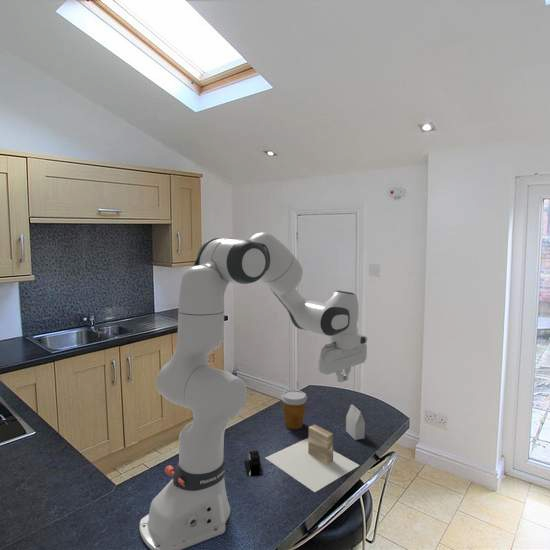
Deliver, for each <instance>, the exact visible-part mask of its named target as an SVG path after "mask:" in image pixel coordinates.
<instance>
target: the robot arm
mask: <svg viewBox="0 0 550 550" xmlns="http://www.w3.org/2000/svg"><path fill="white" fill-rule="evenodd" d="M303 272H304V271H303V267H302V265H301V263H300V262H299V260H298V259H297V258H296V256H295V255H294V254H293V253H292V252H291V251H290V250H289V248H288V247H286V246H285V244H283V243H282V242H281V241H280V240H279V239H278V238H277V237H275V236H274V235H272V234H271V233H270V232H266V231H265V232H263V231H261V232H258V233H255V234H254V235H252V236H250V237H249V238H248V239H238V238H235V237H223V238H220V237H218V238H212V239H209V240H207V241H206V242H204V243H203V244H202V245H201V247H200V248H199V250H198V253H197V256H196V259H195V262H194V266H191V267H190V268H189V267H188V268H187V269H186V270H185V271H184V272H183V274H182V277H181V282H180V285H179V286H180V287H179V293H178V294H179V295H178V303H177V304H178V307H177V308H178V309H177V311H178V312H177V314H178V315H177V340H176V346H175V349H174V353H172V354H173V355H172V356H171V359H169V361H168V362H166V363H165V364H164V365H163V366H162V367H161V368H160V369H159V371H158V374H157V378H156V390H157V392H158V393H159V394H160V395H161V396H162V397H164V398H165V399H166V400H168V402H170V403H171V404H174V405H177V406H180V407H182V408H185V409H189V410H191V413H192V418H193V419H192V421H191V422H189V423H187V424H186V425H185V426H184V427H183V428H182V429H181V430H180V433H179V435H178V455H179V456H178V459H179V460H178V463H177V464H176V468H174V467H173V466H172V465H171V464H170V465H167V466H166V467H165V469H164V472H165V474H166V475H167V476H168V477H172V478H171V479H170V481H169V482H168V483H167V484H166V485H165V486H164V487H163V489H162V490H161V491H160V492H159V493H158V494H157V495H156V496H155V497H154V498H153V499H152V501H151V502H150V506H149V513H148V514H146V515H145V516H144V517H142V518H141V519H140V521H139V534H140V537H141V539H142V540H143V542H144V543H145V545H146V546H147V547H148V548H149V550H184V549H187V548H189V547H192V546H194V545H197V544H200V543H202V542H204V541H207V540H210V539H212V538H215V537H218V536H219V535H223V534H224V533H225V532H226V523H227V521H228V519H229V518H230V516H231V506H230V503H229V501H228V496H227V490H226V482H225V476H226V458H225V456H224V450H225V449H224V448H225V447H224V441H225V439H224V438H225V431H226V428H227V426H228V423H229V422H230V421H231V420H233V419H234V418H236V417H237V416H239V414H240V413H241V412H242V411H243V409H244V407H245V405H246V403H247V399H248V391H247V385H246V383H245V382H244V380H242V379H241V378H240V377H238V376H237V375H235V374H233V373H231V372H229V371H226V370H222V369H220V368H216V367H213V366H209V356H210V354H211V353H212V352H213V351H215V350H217V349H218V348H220V346H221V345H222V343H223V342H224V337H225V335H224V334H225V293H226V290H227V287H228V285H229V284H230V283H236V284H241V285H242V284H243V285H245V284H246V285H247V284H252V283H256V282H258V281H259V280H260V279H261V280H262V282H264V284H265V285H267V287H269V289H270V290H271V292H272V293H273V295H274V296H275V297H276V298H277V299H278V302H280V303H281V304H282V305H283V307H284V308H285V310H286V311H287V312H288V315H289V317H290V320H291V322H292V324H293V325H294V326H295V327H296V328H297V329H300V330H304V331H309V332H312V333H316V334H319V335H324V336H328V337H329V338H330V339H329V342H330V343H328V344H325V345H324V346H323V347H322V349H321V350H320V354H319V358H318V360H319V361H318V371H319V372H320V374H321V373H322V374H324V375H331V374H333V373H335V376H337V380H336V381H337V382H339V383H343V382H346V381H348V380H349V375H350V372H351V371H352V367H354V366H357V365H360V364H361V365H362V364H364V363H365V362H366V359H367V354H368V346H367V342H368V336H367V335H364V334H363V335H362V334H359V329H358V321H359V301H358V300H359V299H358V297H357V295H356V294H355V293H354V292H349V291H343V290H334V291H333V293H332V296H331V297H330V298H329V299H328V300H327V301H325V302H320V301H315V300H311V299H309V298H305V297H304V296H302V295H301V294H300V293H299V291H298V290H297V288H298V286H299V285H300V283H301V281H302V279H303V274H304V273H303Z"/></svg>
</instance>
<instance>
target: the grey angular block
mask: <svg viewBox="0 0 550 550" xmlns="http://www.w3.org/2000/svg"><path fill="white" fill-rule="evenodd" d="M345 418H346V419H345V432H346V433H348V434H349V436H350V437H352V438H353V439H354V441H356V440H365V436H366V434H365V433H366V430H365V429H366V421H365V420H364V417H363V414H362V411H360V410H359V409H358V408H357V407H356V406H355V405H354V404H350V405H349V409H348V411H347V413H346V417H345Z"/></svg>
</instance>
